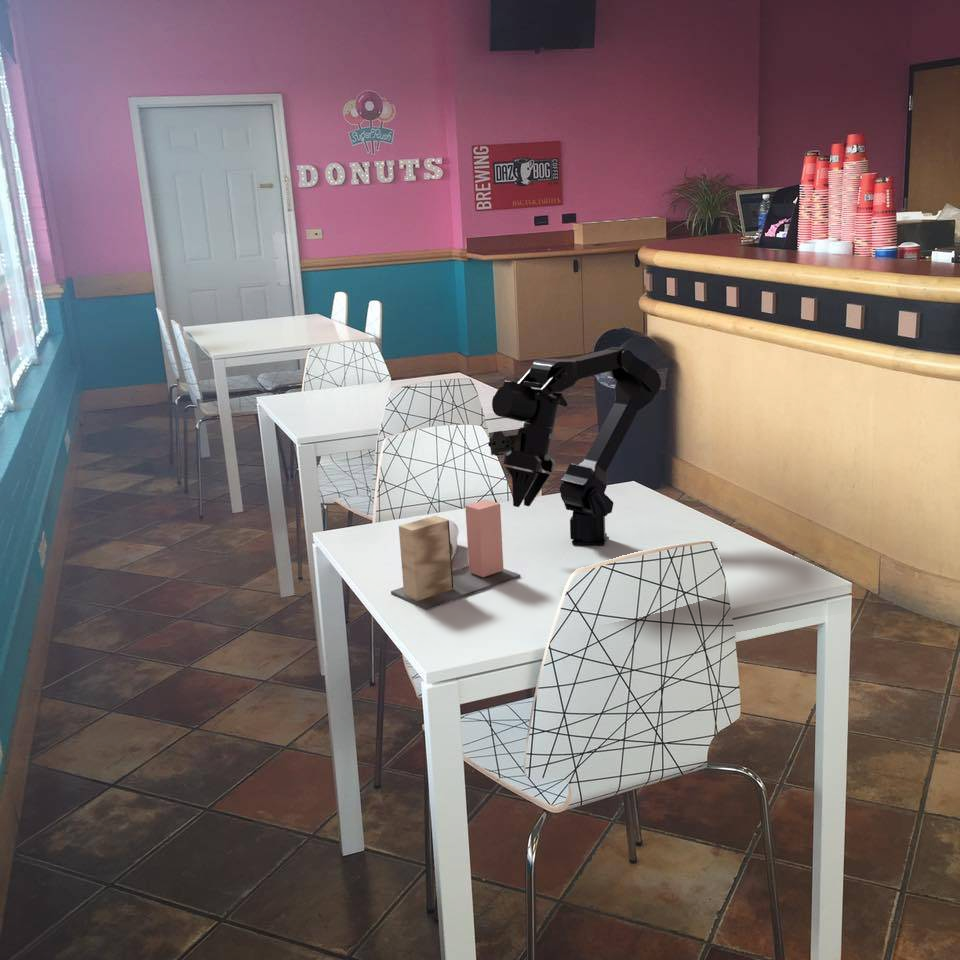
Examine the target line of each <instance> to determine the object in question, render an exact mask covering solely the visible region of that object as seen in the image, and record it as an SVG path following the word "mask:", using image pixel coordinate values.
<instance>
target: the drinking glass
mask: <svg viewBox="0 0 960 960" xmlns="http://www.w3.org/2000/svg"><path fill="white" fill-rule="evenodd" d="M446 519H447V518H446ZM447 520H449V529H450V544H451V559H452V560H453V558H454V556H455V555H456V552H457V547H458V537H459V528H458V525H457V524H456V523H455V522H454V521H453V520H450V519H447Z"/></svg>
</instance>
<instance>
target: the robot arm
mask: <svg viewBox="0 0 960 960" xmlns="http://www.w3.org/2000/svg"><path fill="white" fill-rule="evenodd" d="M607 372H610V376H611V378H612V379H613V380H614V381H615V382H616V384H615V386H614V398H615V401H614V403H613V405H612V407H611V409H610V411H609V413H608V415H607V416H606V418H605V421H604V423H603V424H602V426H601V428H600V430H599V431H598V434H597V435H596V437H595V439H594V441H593V443H592V445H591V446H590V448H589V451H587V454H586V457H585V458H584V459H583V461H581V462H580V463H579V464H576V463H570V464H569V465H568V467H567V469H566V472H565V474H564V475H563V477H562V478H560V481H561V483H560V486H559V492H560V498H561V501H562V502H563V503H564V504H563V505H564V507H565V510H567V511H572V516H571V517H570V519H569V529H570V532H569V533H570V540H572V541H571V544H572V545H573V546H578V545H579V546H592V545H593V546H604V545H605V544H606V540H607V534H608V533H607V532H606V517H607V516H608V515H609V514H611V513H613V508H614V501H613V500H612V499H610V496H608V495H607V494H606V493H605V492H606V489H607V487H608V486H607V485H608V484H607V471H608V469H609V467H610V465H611V463H612V461H613V459H614V457H615V455H616V454H617V452H618V450H619V448H620V446H621V444H622V442H623V440H624V439H625V436H626V435H627V433H628V430H629V429H630V428H631V425H632V423H633V421H634V419H635V418H636V415H637V414H638V412H640V411H641V410H642V409H644V408H646V407H647V406H648V405H649V404H651V403H652V402H653V400H654V398H655V397H656V396H657V395H658V392H659V391H660V389H661V387H662V381H661V377H660V374H659V372H658V371H657V370H656V369H654V368H652V366H651V365H649V364H648V363H647V362H645V361H643V360H641V358H639V357H638V356H636V355H635V354H634V353H633V352H632V351H631V350H629V349H628V348H626V347H616V346H609V348H606V349H604V350H600V351H595V352H591V353H587V354H583V355H579V356H575V357H571V358H568V359H567V358H562V359H561V358H560V359H559V358H538V359H536V360H535V361H533V362H532V364H531V367H530V368H529V370H528V371H527V372H526V373H525V374H524V375H523V376H522V377H521V378H520V380H518V382H517V381H513V380H507V379H506V380H503V385H502V386H501V387H499V388H498V389H497V391H496V392H495V393H494V396H493V397H492V402H491V408H492V411H493V414H494V415H496V416H498V417H500V418H504V419H505V418H506V419H509V420H514V421H517V422H523V426H521V427H520V428H518V430H517V434H514V435H506V434H505V432H504V431H503V430H500V431H499V430H498V431H493V433H492V436H491V437H490V438H488V440H489V441H488V444H487V445H488V447H489V450H490V454H491V456H495V457H498V456H503V455H504V459H503V462H502V463H503V465H506V466H504V468H505V470H507V472H508V473H509V475H510V476H511V480H512V481H511V482H512V483H511V484H512V505H513V507H516V508H519V507H520V506H521V505H522V503H523V506H525V507H530V506H531V505H532V503H533V502H534V501H535V499H536V498H537V497H538V494H540V492H541V490H542V489H543V488H544V487H545V485H546V483H547V482H548V481H549V479H550V478H551V477H552V476H553V474H552V473H555V469H556V464H557V463H556V461H555V460H554V458H553V457H551V455H549V452H550V447H551V443H552V440H553V441H554V439H555V434H554V429H555V428H554V427H555V425H556V420H557V415H558V410H559V407H565V408H567V407H568V405H569V404H568V402H567V401H566V399H565V398H564V396H563V393H562V392H564V391H566V390H568V389H569V388H571V387H574V386H575V385H576V383H577V382H578V381H580V380H582V379H586V378H589V377H593V376H597V375H601V374H604V373H605V374H606V373H607ZM547 472H548V473H547Z"/></svg>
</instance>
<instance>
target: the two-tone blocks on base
mask: <svg viewBox="0 0 960 960" xmlns="http://www.w3.org/2000/svg"><path fill="white" fill-rule="evenodd" d="M449 520H450V519H448V520H447V518H444V517H441V516H438V515H433V516H428V517H425V518H422V519H417V520H415V521H411V522H407V523H405V524H401V525H398V534H399V546H400V557H401V558H400V559H401V562H400V563H401V572H402V573H401V574H402V587H399V588H396V589H393V590H391V591H390V594H391V595H393V596H395V597H397V598H399V599H402V600H405V601H406V602H409V603H411V604H413V605H415V606H417V607H420V608H422V609H424V610H426V611H428V610H430V609H433V608H437V607H439V606H442V605H445V604H447V603H451V602H453V601H456V600H460V599H462V598H465V597H467V596H470V595H471V596H472V595H473V594H476V593H480V592H482V591H486V590H488V589H490V588H494V587H497V586H500V585H502V584H506V583H509V582H511V581H514V580H518V579H520V578H521V577H522V576H521V574H519V573H516V572H514V571H511V570H508V569H505V568H503V569H504V570H503V571H500V572H497V573H494V574H491V575H488V576H485V577H481V576H478V575H475V574H473V573H470V572H469V565H467V566H463V567H460V568H457V569H454V570H453V562H452V561H453V559H451V544H450V529H449Z"/></svg>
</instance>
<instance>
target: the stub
mask: <svg viewBox="0 0 960 960" xmlns="http://www.w3.org/2000/svg"><path fill="white" fill-rule="evenodd" d="M464 507H465V520H466V522H465V523H466V539H467V553H468V554H467V555H468V556H467V557H468V558H467V559H468V566H469V572H470V573H473V574H475V575H478V576H481V577H485V576H488V575H491V574H494V573H497V572H500V571H503V570H504V569H505V568H504V556H503V555H504V554H503V553H504V552H503V536H502V535H503V533H502V515H501V514H502V512H501V503H500V502H495V501H492V500H489V499H484V500H480V501H476V502H473V503H469V504H466V505H465V506H464Z"/></svg>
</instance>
